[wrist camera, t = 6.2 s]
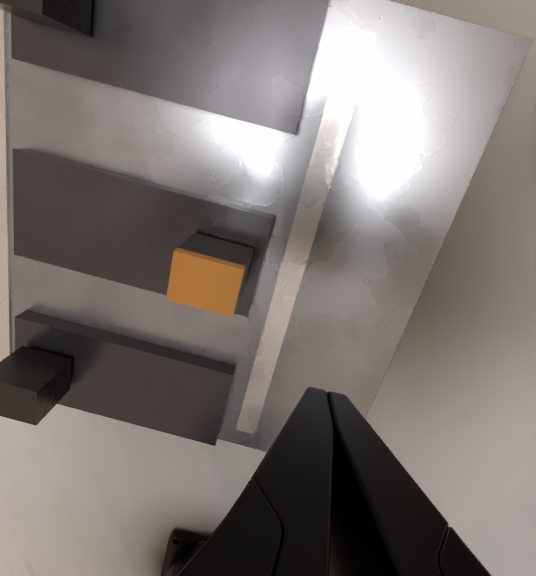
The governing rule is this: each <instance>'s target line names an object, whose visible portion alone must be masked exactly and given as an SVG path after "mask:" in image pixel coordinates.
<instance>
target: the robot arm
mask: <svg viewBox="0 0 536 576" xmlns="http://www.w3.org/2000/svg"><path fill="white" fill-rule="evenodd" d="M161 576H491V574H490V573H489V572H488V571H487V570H486V568H485V567H484V566H483V565H482V564H481V562H480V561H479V560H478V559H477V558H476V556H475V555H474V554H473V553H472V552H471V550H470V549H469V548H468V547H467V546H466V544H465V543H464V542H463V541H462V539H461V538H460V537H459V536H458V534H457V533H456V532H455V531H454V529H453V528H452V527H448V522H447V521H446V520H445V518H444V517H443V516H442V515H441V513H440V512H439V511H438V510H437V508H436V507H435V506H434V505H433V503H432V502H431V501H430V500H429V498H428V497H427V496H426V495H425V493H424V492H423V491H422V490H421V488H420V487H419V486H418V485H417V483H416V482H415V481H414V480H413V478H412V477H411V476H410V475H409V473H408V472H407V471H406V470H405V468H404V467H403V466H402V465H401V463H400V462H399V461H398V460H397V458H396V457H395V456H394V455H393V453H392V452H391V451H390V450H389V448H388V447H387V446H386V445H385V443H384V442H383V441H382V440H381V438H380V437H379V436H378V435H377V433H376V432H375V431H374V430H373V428H372V427H371V426H370V425H369V423H368V422H367V421H366V420H365V418H364V417H363V416H362V415H361V413H360V412H359V411H358V410H357V408H356V407H355V406H354V405H353V403H352V402H351V401H350V400H349V398H348V397H347V396H346V395H345V394H341V393H337V392H333V391H328V392H326V391H325V390H324V389H320V388H316V387H311V386H309V387H307V389H306V390H305V392H304V394H303V395H302V397H301V398H300V400H299V402H298V403H297V405H296V407H295V408H294V410H293V411H292V413H291V415H290V416H289V418H288V419H287V421H286V423H285V424H284V426H283V428H282V429H281V431H280V432H279V434H278V436H277V437H276V439H275V441H274V442H273V444H272V445H271V447H270V449H269V450H268V452H267V454H266V455H265V457H264V458H263V460H262V462H261V463H260V465H259V466H258V468H257V470H256V471H255V473H254V475H253V476H252V478H251V480H250V481H249V482H248V484H247V485H246V487H245V489H244V490H243V492H242V493H241V495H240V496H239V498H238V499H237V501H236V502H235V504H234V505H233V507H232V508H231V510H230V511H229V513H228V514H227V516H226V517H225V518H224V519H223V521H222V522H221V523H220V524H219V526H218V527H217V528H216V530H215V531H214V532H213V533H212V535H211V536H210V537H209V538H204V537H200V536H196V535H193V534H189V533H185V532H181V531H173V532H172V533H171V535H170V538H169V541H168V546H167V550H166V555H165V559H164V564H163V568H162V573H161Z"/></svg>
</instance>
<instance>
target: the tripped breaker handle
mask: <svg viewBox="0 0 536 576" xmlns="http://www.w3.org/2000/svg"><path fill="white" fill-rule="evenodd" d="M253 250H254V249H253V248H250V247H246V246H242V245H238V244H235V243H231V242H227V241H224V240H220V239H216V238H212V237H209V236H205V235H201V234H197V233H194V234H193V235H192V236H191V237H190V238H188V239H187V240H186V241H185V242H184V243H183V244H181V245H180V246H179V247H178V248H177V249H175V250H174V252H173V258H172V265H171V271H170V277H169V284H168V290H167V296H166V299H168V300H171V301H175V302H179V303H183V304H186V305H190V306H194V307H198V308H201V309H205V310H209V311H212V312H216V313H220V314H224V315H227V316H231V317H233V314H234V312H235V310H236V307H237V305H238V302H239V300H240V298H241V295H242V293H243V290H244V287H245V283H246V279H247V275H248V271H249V266H250V262H251V258H252V254H253Z"/></svg>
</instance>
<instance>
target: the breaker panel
mask: <svg viewBox="0 0 536 576" xmlns="http://www.w3.org/2000/svg"><path fill="white" fill-rule="evenodd" d="M532 41H533V39H529V38H525V37H521V36H518V35H514V34H510V33H507V32H503V31H499V30H496V29H492V28H488V27H485V26H481V25H477V24H474V23H470V22H466V21H463V20H459V19H455V18H452V17H448V16H444V15H441V14H437V13H433V12H430V11H426V10H422V9H418V8H415V7H411V6H407V5H404V4H400V3H396V2H393V1H389V0H0V416H3V417H6V418H10V419H14V420H18V421H22V422H25V423H29V424H33V425H37V424H38V423H39V422H40V421H41V420H42V419H43V418H44V417H45V416H46V415H47V413H48V412H49V411H50V410H51V409H52V408H53V407H54V406H55V405H56V404H60V405H64V406H68V407H72V408H75V409H79V410H83V411H87V412H90V413H94V414H98V415H102V416H105V417H109V418H113V419H117V420H120V421H124V422H128V423H132V424H135V425H139V426H143V427H147V428H150V429H154V430H158V431H162V432H165V433H169V434H173V435H177V436H180V437H184V438H188V439H192V440H195V441H199V442H203V443H207V444H210V445H214V446H215V444H216V441H217V439H221V440H225V441H228V442H232V443H236V444H240V445H243V446H247V447H251V448H255V449H258V450H262V451H266V452H268V450H269V449H270V447H271V445H272V444H273V442H274V441H275V439H276V437H277V436H278V434H279V432H280V431H281V429H282V428H283V426H284V424H285V423H286V421H287V419H288V418H289V416H290V415H291V413H292V411H293V410H294V408H295V407H296V405H297V403H298V402H299V400H300V398H301V397H302V395H303V394H304V392H305V390H306V389H307V387H309V386H311V387H316V388H320V389H324V390H325V391H326V392H328V391H333V392H337V393H341V394H345V395H346V396H347V397H348V398H349V400H350V401H351V402H352V403H353V405H354V406H355V407H356V408H357V410H358V411H359V412H360V413H361V415H362V416H363V417H364V418H366V416H367V414H368V411H369V409H370V407H371V405H372V402H373V400H374V398H375V396H376V393H377V391H378V389H379V387H380V384H381V382H382V380H383V378H384V375H385V373H386V371H387V369H388V366H389V364H390V362H391V359H392V357H393V355H394V353H395V350H396V348H397V346H398V344H399V341H400V339H401V337H402V335H403V332H404V330H405V328H406V326H407V323H408V321H409V319H410V317H411V314H412V312H413V310H414V308H415V305H416V303H417V301H418V298H419V296H420V294H421V292H422V289H423V287H424V285H425V283H426V280H427V278H428V276H429V274H430V271H431V269H432V267H433V265H434V262H435V260H436V258H437V256H438V253H439V251H440V249H441V247H442V244H443V242H444V240H445V237H446V235H447V233H448V231H449V228H450V226H451V224H452V222H453V219H454V217H455V215H456V213H457V210H458V208H459V206H460V204H461V201H462V199H463V197H464V195H465V192H466V190H467V188H468V186H469V183H470V181H471V179H472V176H473V174H474V172H475V170H476V167H477V165H478V163H479V161H480V158H481V156H482V154H483V152H484V149H485V147H486V145H487V143H488V140H489V138H490V136H491V134H492V131H493V129H494V127H495V125H496V122H497V120H498V118H499V115H500V113H501V111H502V109H503V106H504V104H505V102H506V100H507V97H508V95H509V93H510V91H511V88H512V86H513V84H514V82H515V79H516V77H517V75H518V73H519V70H520V68H521V66H522V64H523V61H524V59H525V57H526V54H527V52H528V50H529V48H530V45H531V43H532ZM194 233H197V234H201V235H205V236H209V237H212V238H216V239H220V240H224V241H227V242H231V243H235V244H238V245H242V246H246V247H250V248H253V249H254V250H253V254H252V258H251V262H250V266H249V271H248V275H247V279H246V283H245V287H244V290H243V293H242V295H241V298H240V300H239V302H238V305H237V307H236V310H235V312H234V314H233V317H231V316H227V315H224V314H220V313H216V312H212V311H209V310H205V309H201V308H198V307H194V306H190V305H186V304H183V303H179V302H175V301H171V300H168V299H166V296H167V290H168V284H169V277H170V271H171V265H172V258H173V252H174V250H175V249H177V248H178V247H179V246H180V245H181V244H183V243H184V242H185V241H186V240H187V239H188V238H190V237H191V236H192V235H193V234H194Z"/></svg>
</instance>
